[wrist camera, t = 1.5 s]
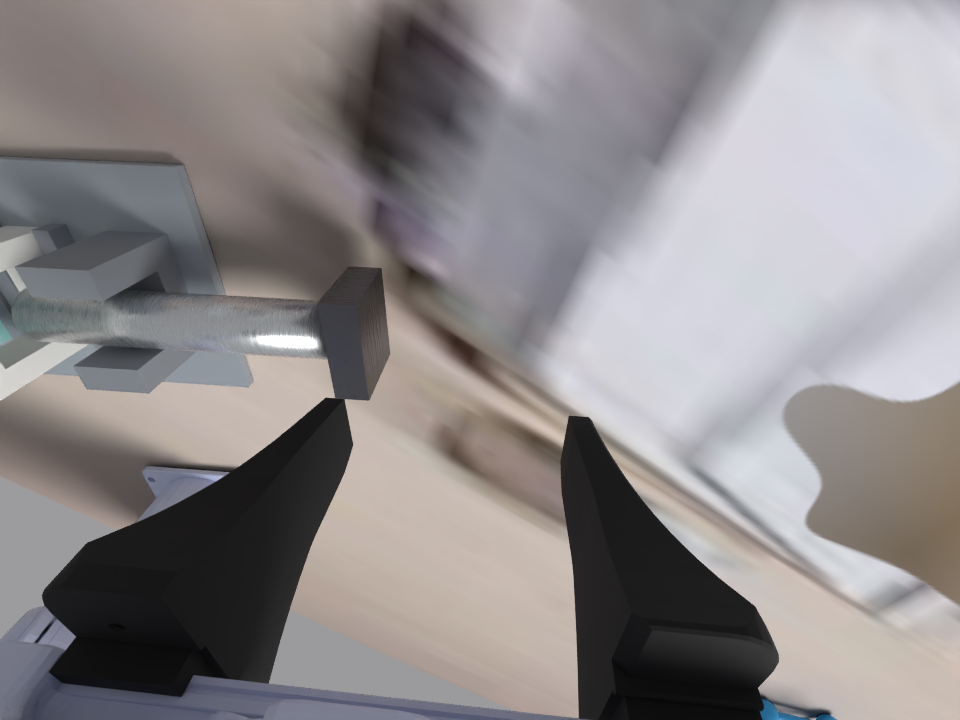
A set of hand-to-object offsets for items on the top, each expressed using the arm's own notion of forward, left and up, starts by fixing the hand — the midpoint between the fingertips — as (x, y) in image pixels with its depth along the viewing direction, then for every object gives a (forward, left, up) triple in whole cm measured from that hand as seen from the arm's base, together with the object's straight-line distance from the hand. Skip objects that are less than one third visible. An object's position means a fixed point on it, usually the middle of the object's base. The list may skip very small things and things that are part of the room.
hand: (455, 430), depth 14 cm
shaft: (0, +12, -8) cm, 14 cm away
